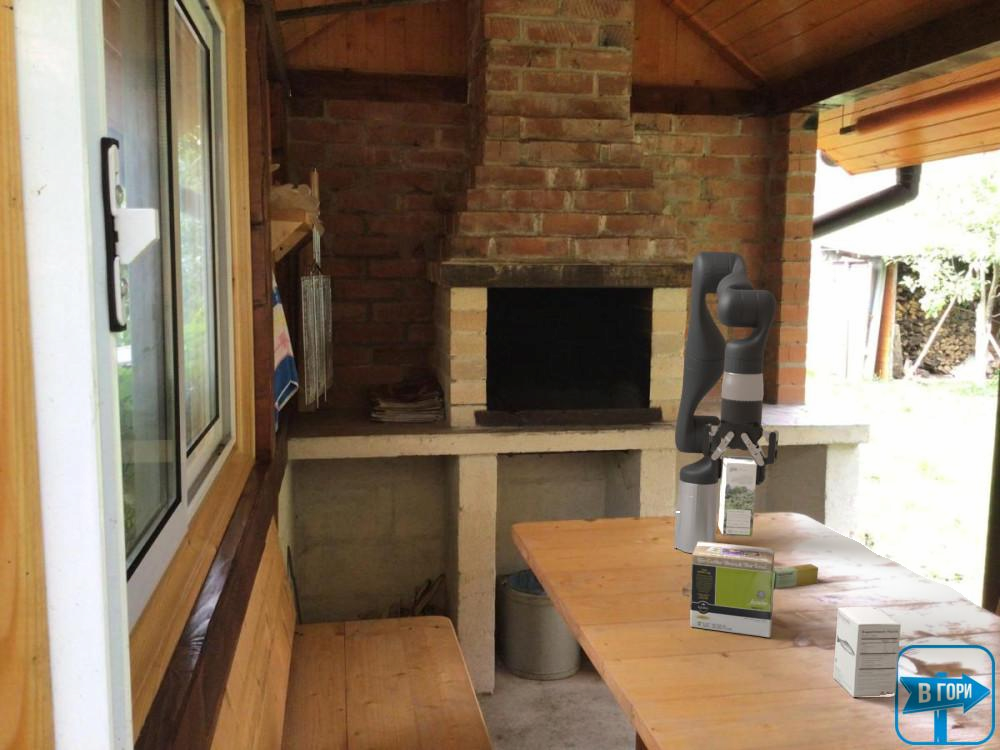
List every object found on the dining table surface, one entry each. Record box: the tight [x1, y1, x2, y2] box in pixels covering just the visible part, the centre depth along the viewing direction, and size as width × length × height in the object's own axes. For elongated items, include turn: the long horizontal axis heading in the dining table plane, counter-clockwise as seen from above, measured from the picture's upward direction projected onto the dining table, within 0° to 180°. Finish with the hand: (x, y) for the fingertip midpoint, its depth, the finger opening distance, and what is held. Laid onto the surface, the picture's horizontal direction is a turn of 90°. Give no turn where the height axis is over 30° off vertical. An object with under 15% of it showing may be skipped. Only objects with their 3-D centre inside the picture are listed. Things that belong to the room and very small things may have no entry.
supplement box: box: [832, 606, 902, 698], centre depth 144 cm, size 7×7×13 cm
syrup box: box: [717, 455, 758, 537], centre depth 168 cm, size 6×6×14 cm
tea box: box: [689, 541, 775, 638], centre depth 170 cm, size 15×10×15 cm
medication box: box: [773, 563, 819, 590], centre depth 193 cm, size 12×3×4 cm, turn 112°
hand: (737, 481), depth 168 cm, fingers closed on syrup box, 7 cm apart
